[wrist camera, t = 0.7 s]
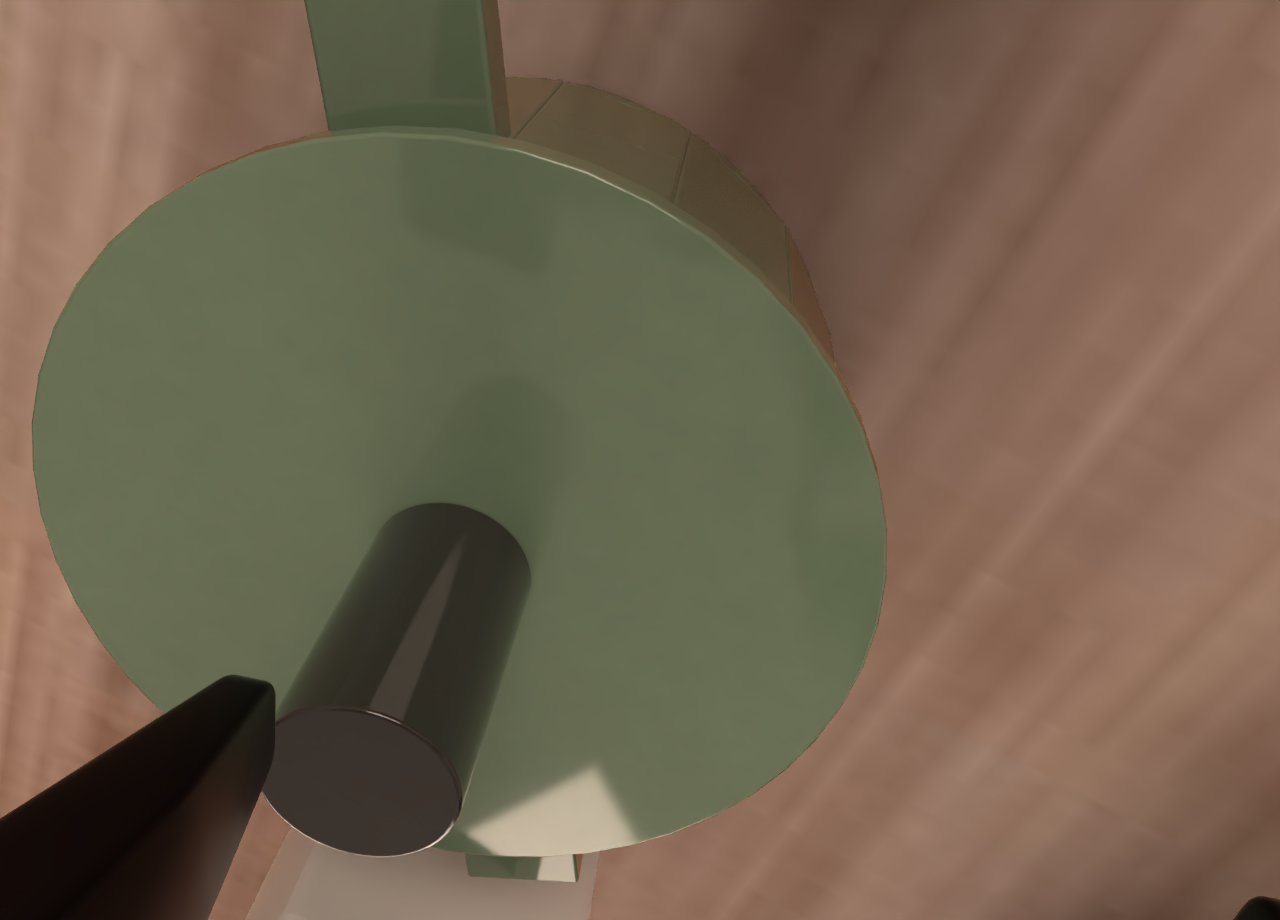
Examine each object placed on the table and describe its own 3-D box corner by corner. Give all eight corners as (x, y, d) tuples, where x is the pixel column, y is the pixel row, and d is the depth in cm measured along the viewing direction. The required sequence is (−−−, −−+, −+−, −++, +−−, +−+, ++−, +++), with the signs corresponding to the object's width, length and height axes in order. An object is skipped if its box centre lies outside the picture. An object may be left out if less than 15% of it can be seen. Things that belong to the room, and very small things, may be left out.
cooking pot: (852, -104, 17) (896, -87, 12) (810, 701, 26) (824, 928, 21) (145, -72, 19) (-117, -43, 13) (334, 683, 28) (226, 891, 22)
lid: (917, 101, 13) (1006, 239, 8) (854, 829, 20) (884, 1136, 15) (-56, 126, 15) (-452, 254, 10) (191, 796, 22) (26, 1065, 17)
